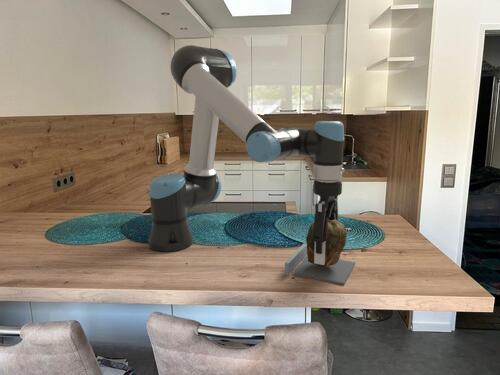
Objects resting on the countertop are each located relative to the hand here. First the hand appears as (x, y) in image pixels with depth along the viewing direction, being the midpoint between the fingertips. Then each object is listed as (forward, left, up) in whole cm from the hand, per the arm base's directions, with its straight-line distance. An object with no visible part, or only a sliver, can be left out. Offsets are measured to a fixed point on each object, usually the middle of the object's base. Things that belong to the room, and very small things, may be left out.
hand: (325, 255), depth 101 cm
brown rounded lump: (0, 0, -2) cm, 2 cm away
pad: (0, 0, -4) cm, 4 cm away
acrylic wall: (-9, 0, -4) cm, 9 cm away
